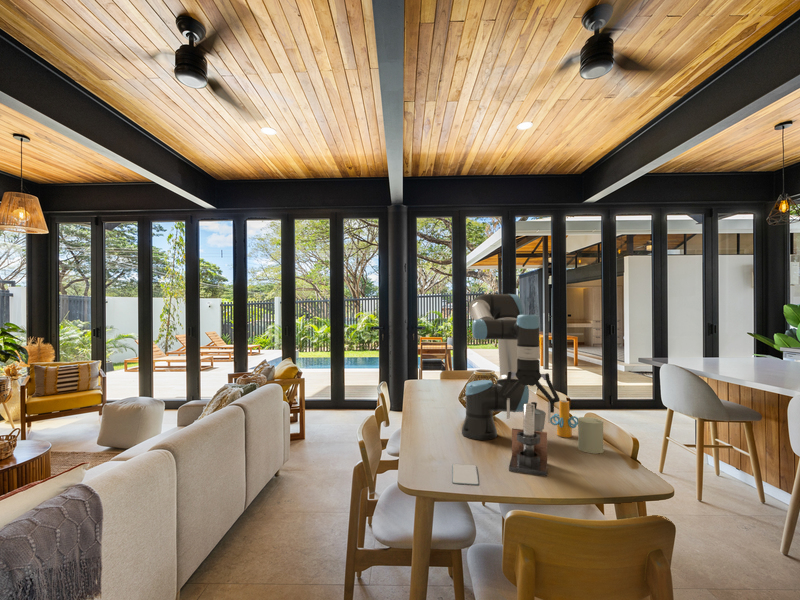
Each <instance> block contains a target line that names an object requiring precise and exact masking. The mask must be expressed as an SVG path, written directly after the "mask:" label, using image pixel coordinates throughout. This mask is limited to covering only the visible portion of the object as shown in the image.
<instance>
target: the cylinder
mask: <svg viewBox="0 0 800 600" xmlns="http://www.w3.org/2000/svg"><path fill="white" fill-rule="evenodd" d="M558 403H559V404H558V405H559V407H558V409H559V411H558V412H559V413H553V415H552V416H550V424H552V425H553V426H556V435H557V436H559V437H560V438H567V439H568V438H569V439H570V438H572V437H573V429H575V428H576V427H578V418H579V417H577V416H576V415H575V416H574V415H573V416H570V401H569V400H566V399H565V400H564V399H563V400H562V399H560V401H559V402H558ZM556 419H557V420H556ZM553 421H554V422H553ZM572 421H573V423H572Z"/></svg>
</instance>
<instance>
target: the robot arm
mask: <svg viewBox="0 0 800 600" xmlns="http://www.w3.org/2000/svg"><path fill="white" fill-rule="evenodd" d="M468 314H469V315H470V317H471V318H472V319H473V320H472V323H471V324H472V325H471V326H472V327H471V330H472V332H471V333H472V337H473V339H475V340H482V341H484V340H498V361H499V363H498V365H499V377H498V379H496V383H494V382H493V380H490V379H481V380H474V381H473V380H472V381H471V382H468V383H467V384H466V386H465V418H464V421H463V423H462V427H461V435H462V436H463V437H465V438H468V439H471V440H479V441H480V440H481V441H488V440H493V439H496V438H497V436H498V431H497V427H496V424H495V421H494V412H505V413H506V419H508V420H510V416H511V413H523V410H524V403H529V400H530V399H529V398H530V389H529V386H530V387H533V386H535V387H537V389H538V390H540V392H541V393H542V394H543V396H544V397H545V398H546V399H547V400H548V401H547V423H548V424H551V422H550V418H551V414H555V413H554V412H555V403H559V401H560V400H561V399H560V397H559V395H558V393H557V391H556V389H555V387H554V385H553V384H552V381H551V379H550V374H549V372H546V373H541V372H540V370H541V369H540V368H541V367H540V363H541V362H540V360H539V358H541V357H540V356H541V355H540V349H541V348H540V327H541V324H540V316H539V315H537V314H524V308H523V303H522V299H521V297H520V296H519V295H518V294H516V293H515V294H513V293H492V294H491V293H484V294H480V295H478V296H476V297H474V298H473V299H472V300H471V301H470V303H469V305H468ZM541 378H542V380H544V381H545V382H546V384H547V386H548V388H549V390H550V391H551V393H552V395H553V397H552V395H550V393H549V392H548V391H547V390H546V389H545V387H544V386H543V385H542V383H540V380H541Z"/></svg>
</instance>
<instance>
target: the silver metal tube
mask: <svg viewBox="0 0 800 600" xmlns="http://www.w3.org/2000/svg"><path fill="white" fill-rule="evenodd" d="M534 419H535V405H534V404H531V402H530V403H529V402H528V403H524V414H523V429H522V430H523V436H524V437H529V438H533V437H534ZM523 456H527V457H534V444H533V445H530V444H524V443H523Z"/></svg>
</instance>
